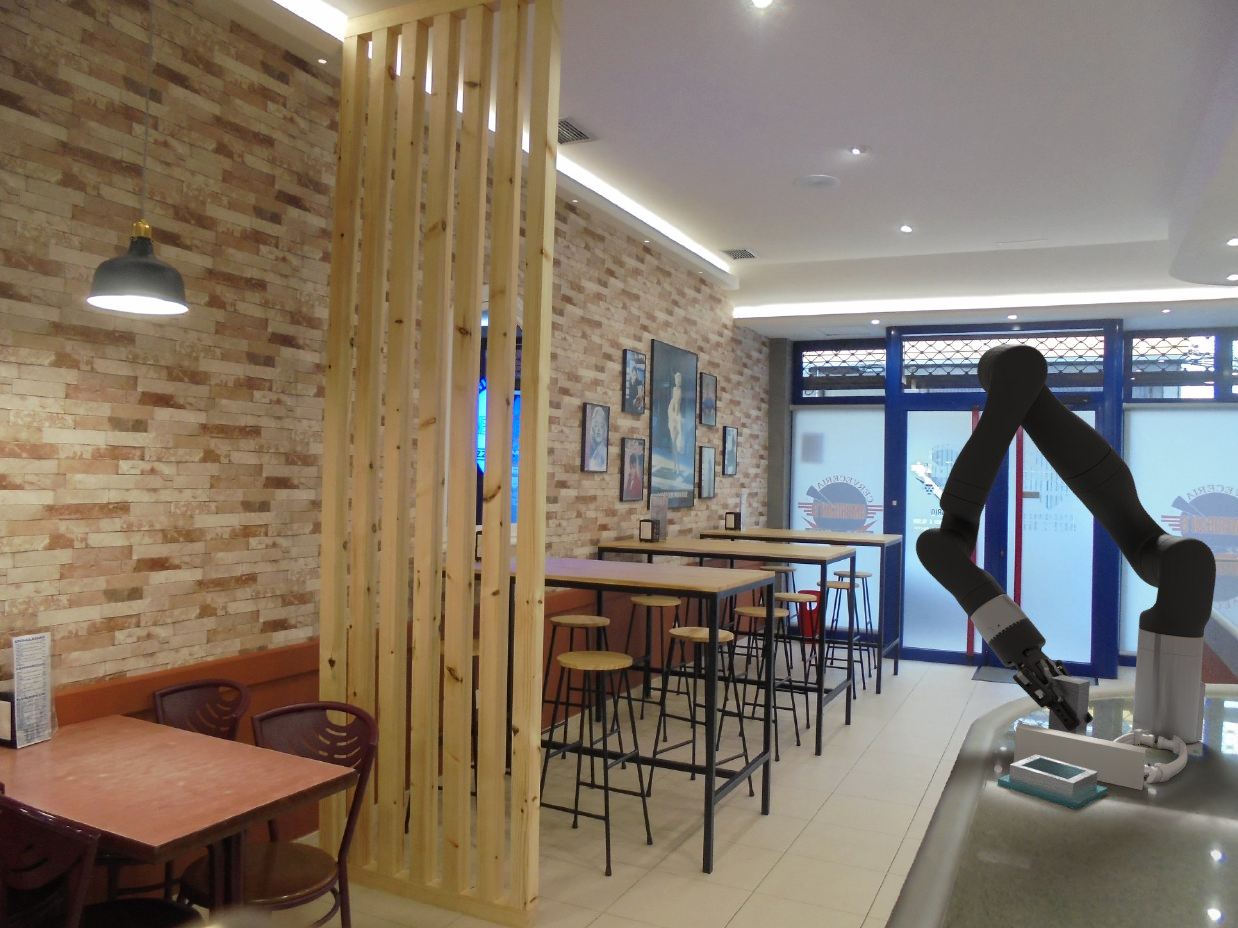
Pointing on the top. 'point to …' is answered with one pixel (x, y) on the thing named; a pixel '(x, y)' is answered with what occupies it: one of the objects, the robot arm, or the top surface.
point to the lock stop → (1072, 702)
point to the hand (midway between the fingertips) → (1081, 724)
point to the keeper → (1054, 781)
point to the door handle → (1176, 745)
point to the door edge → (1084, 754)
